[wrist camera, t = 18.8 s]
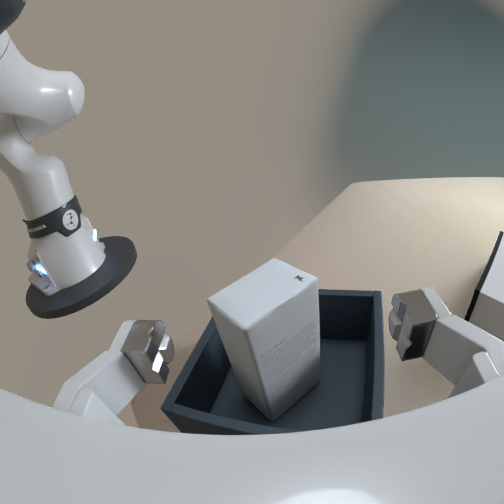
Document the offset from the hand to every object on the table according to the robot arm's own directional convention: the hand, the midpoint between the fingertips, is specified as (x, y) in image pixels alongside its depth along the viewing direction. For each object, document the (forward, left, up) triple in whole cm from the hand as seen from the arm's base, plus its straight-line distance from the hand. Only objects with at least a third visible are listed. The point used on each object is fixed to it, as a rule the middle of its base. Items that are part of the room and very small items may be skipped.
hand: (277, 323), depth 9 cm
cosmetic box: (-3, +7, -16) cm, 17 cm away
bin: (-2, +7, -17) cm, 18 cm away
